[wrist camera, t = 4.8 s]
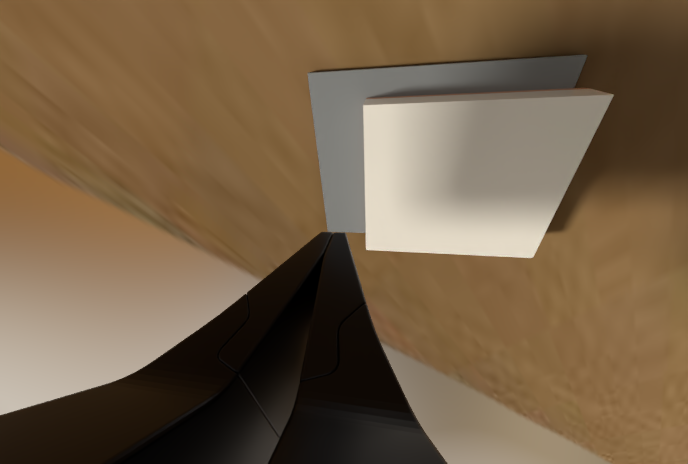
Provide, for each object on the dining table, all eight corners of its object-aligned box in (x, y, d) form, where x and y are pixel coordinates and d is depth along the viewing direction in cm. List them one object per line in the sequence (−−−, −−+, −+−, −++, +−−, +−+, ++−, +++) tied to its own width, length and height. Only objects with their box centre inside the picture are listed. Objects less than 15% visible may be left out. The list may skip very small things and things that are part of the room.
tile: (366, 98, 11) (585, 87, 9) (368, 232, 15) (520, 238, 13) (362, 105, 9) (613, 94, 8) (366, 249, 14) (532, 258, 12)
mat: (582, 54, 9) (587, 55, 9) (510, 234, 14) (512, 238, 14) (309, 72, 11) (307, 73, 10) (328, 228, 15) (327, 231, 15)
